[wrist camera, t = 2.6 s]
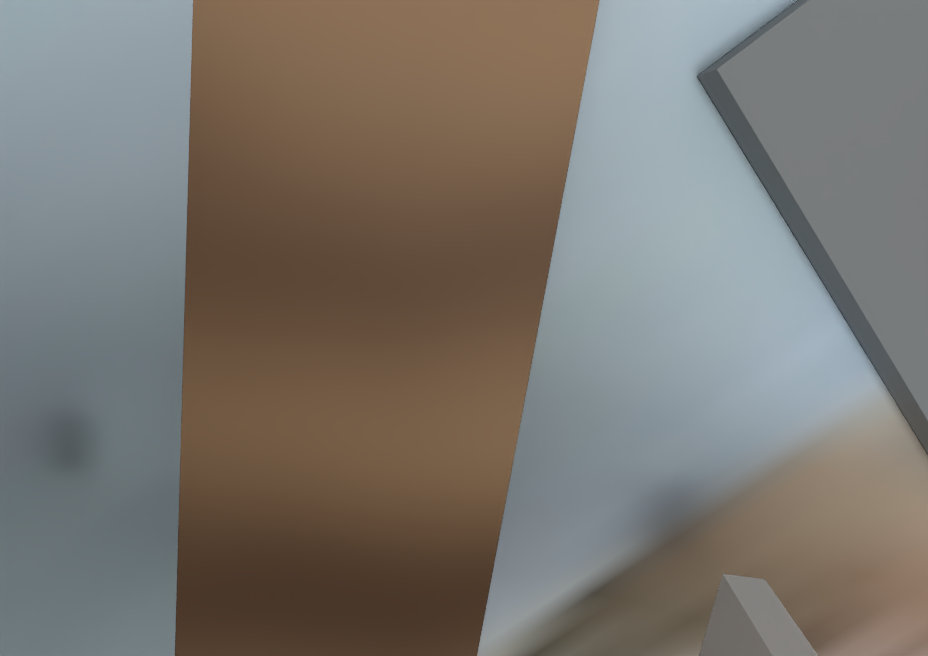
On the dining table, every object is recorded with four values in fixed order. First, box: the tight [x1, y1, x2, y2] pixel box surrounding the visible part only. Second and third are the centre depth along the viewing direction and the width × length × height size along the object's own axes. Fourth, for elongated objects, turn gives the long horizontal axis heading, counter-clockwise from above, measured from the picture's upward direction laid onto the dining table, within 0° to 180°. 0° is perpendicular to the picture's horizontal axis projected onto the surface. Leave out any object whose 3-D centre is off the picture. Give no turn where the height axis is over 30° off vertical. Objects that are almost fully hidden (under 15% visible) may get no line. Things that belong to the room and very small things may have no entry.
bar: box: [175, 0, 599, 656], centre depth 13 cm, size 26×5×5 cm, turn 172°
